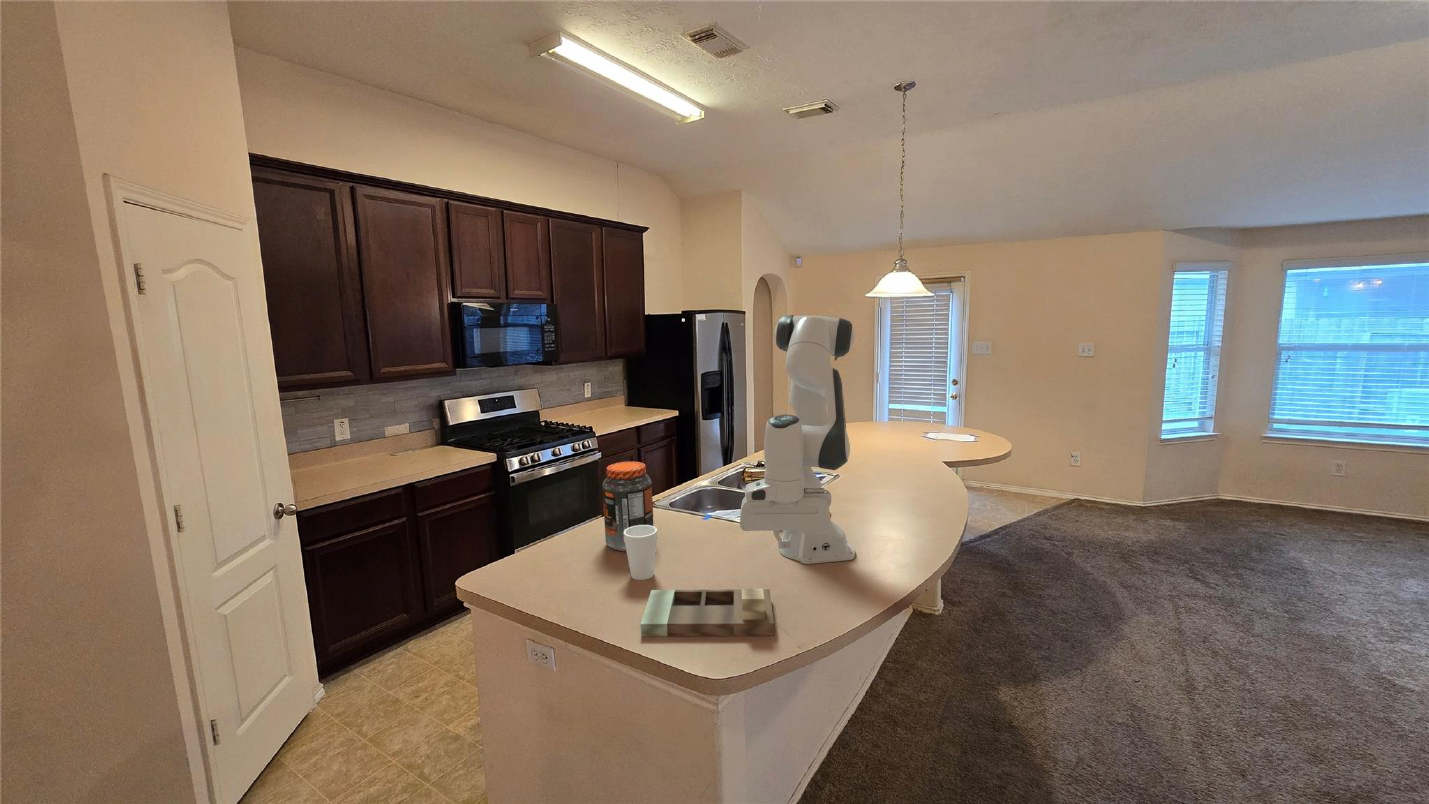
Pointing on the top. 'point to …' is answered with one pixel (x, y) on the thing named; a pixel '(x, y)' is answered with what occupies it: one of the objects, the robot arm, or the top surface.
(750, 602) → the maple block
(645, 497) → the supplement tub
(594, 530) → the top surface
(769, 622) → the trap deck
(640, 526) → the foam cup
